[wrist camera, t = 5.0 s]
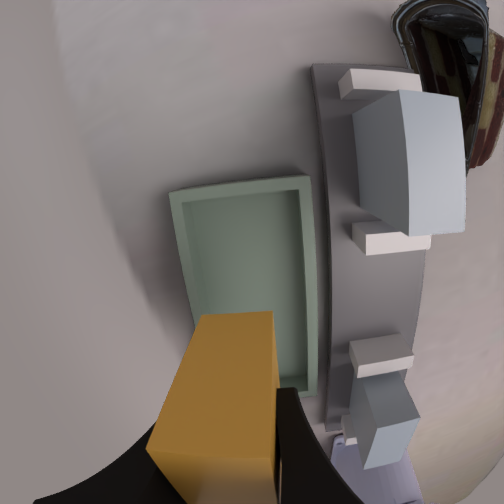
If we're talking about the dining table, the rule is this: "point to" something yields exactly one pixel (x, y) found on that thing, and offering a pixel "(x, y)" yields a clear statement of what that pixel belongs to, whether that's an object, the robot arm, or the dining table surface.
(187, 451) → the block
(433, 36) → the chocolate cake
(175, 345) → the dining table surface
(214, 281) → the tray
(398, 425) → the block
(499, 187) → the dining table surface
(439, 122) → the block
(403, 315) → the block
